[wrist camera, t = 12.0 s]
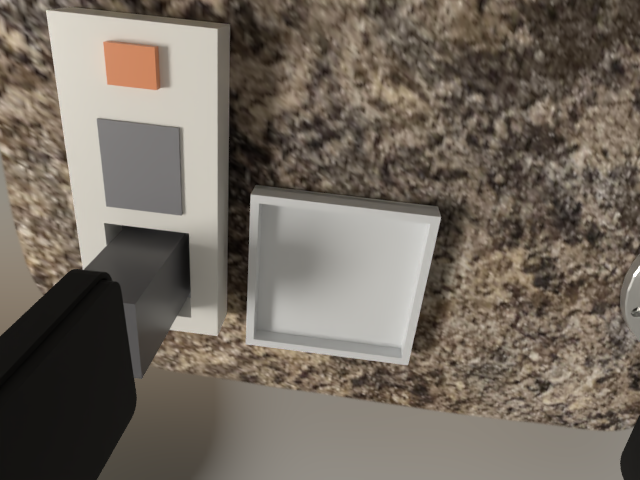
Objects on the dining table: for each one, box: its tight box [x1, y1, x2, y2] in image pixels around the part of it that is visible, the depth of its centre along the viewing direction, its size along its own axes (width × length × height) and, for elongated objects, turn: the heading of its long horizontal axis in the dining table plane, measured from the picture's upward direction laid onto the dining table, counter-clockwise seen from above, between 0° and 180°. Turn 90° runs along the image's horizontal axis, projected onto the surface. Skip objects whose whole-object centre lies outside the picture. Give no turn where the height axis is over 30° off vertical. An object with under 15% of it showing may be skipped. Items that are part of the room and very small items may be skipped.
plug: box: [84, 226, 191, 379], centre depth 35 cm, size 4×6×10 cm
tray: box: [246, 185, 441, 365], centre depth 39 cm, size 13×13×2 cm
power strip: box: [46, 7, 230, 336], centre depth 36 cm, size 10×22×4 cm, turn 175°
